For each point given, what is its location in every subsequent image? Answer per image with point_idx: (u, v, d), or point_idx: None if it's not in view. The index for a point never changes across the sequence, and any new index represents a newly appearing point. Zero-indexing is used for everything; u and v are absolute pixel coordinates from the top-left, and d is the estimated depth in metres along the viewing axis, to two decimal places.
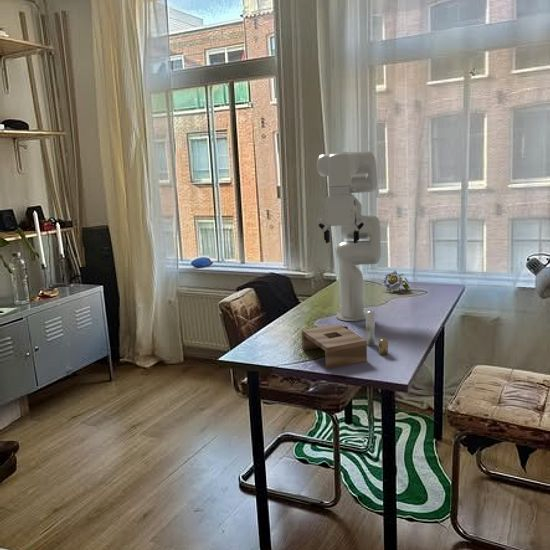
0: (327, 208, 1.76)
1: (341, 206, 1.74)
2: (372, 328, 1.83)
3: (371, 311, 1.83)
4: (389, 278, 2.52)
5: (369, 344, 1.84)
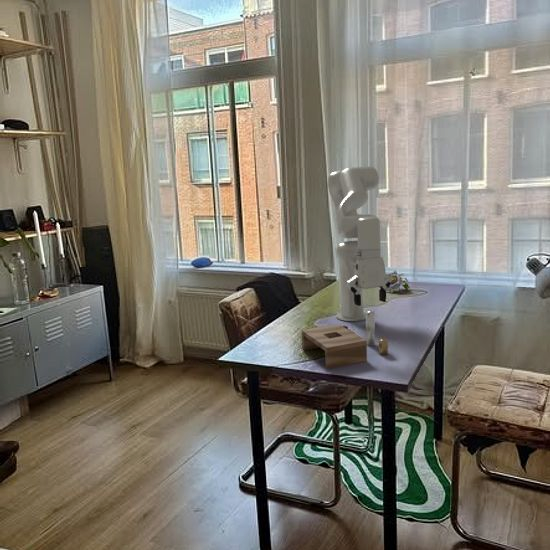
0: None
1: None
2: (372, 328, 1.83)
3: (371, 311, 1.83)
4: None
5: (369, 344, 1.84)
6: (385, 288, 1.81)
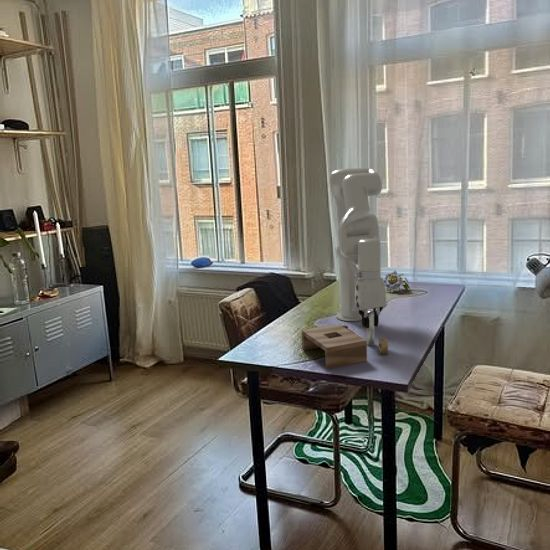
0: None
1: None
2: (372, 328, 1.83)
3: (371, 311, 1.83)
4: (389, 278, 2.52)
5: (369, 344, 1.84)
6: (378, 312, 1.83)
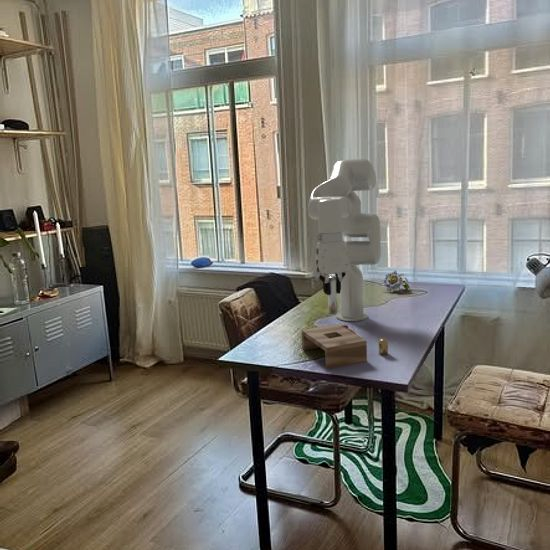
0: None
1: None
2: (334, 295, 1.72)
3: (333, 277, 1.72)
4: (389, 278, 2.52)
5: (331, 312, 1.73)
6: (340, 278, 1.72)
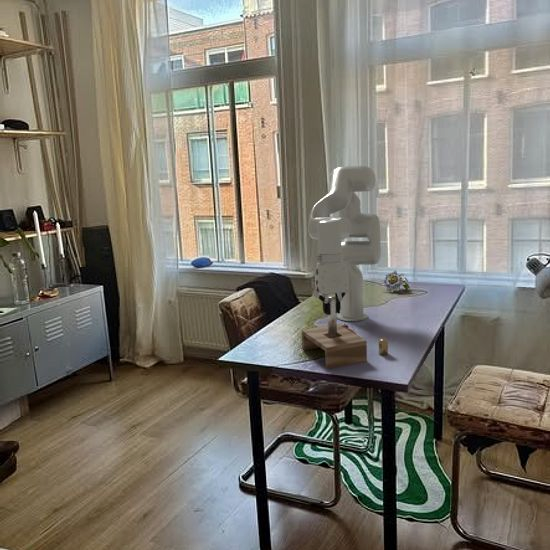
0: None
1: None
2: (334, 315, 1.73)
3: (333, 297, 1.73)
4: (389, 278, 2.52)
5: (331, 332, 1.74)
6: (339, 298, 1.73)
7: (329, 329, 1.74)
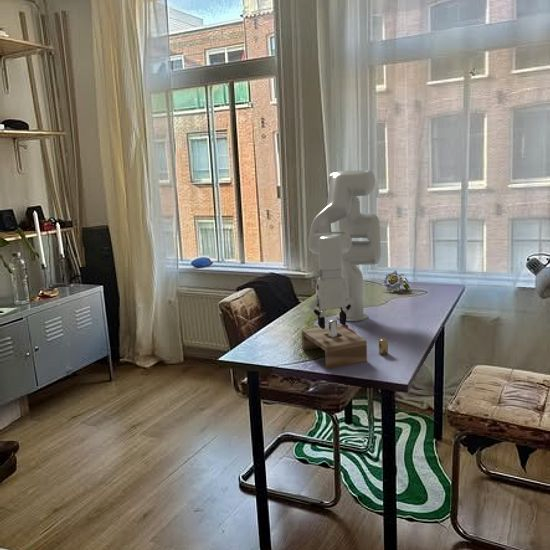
0: None
1: None
2: None
3: (333, 320, 1.75)
4: (389, 278, 2.52)
5: None
6: (345, 311, 1.74)
7: None
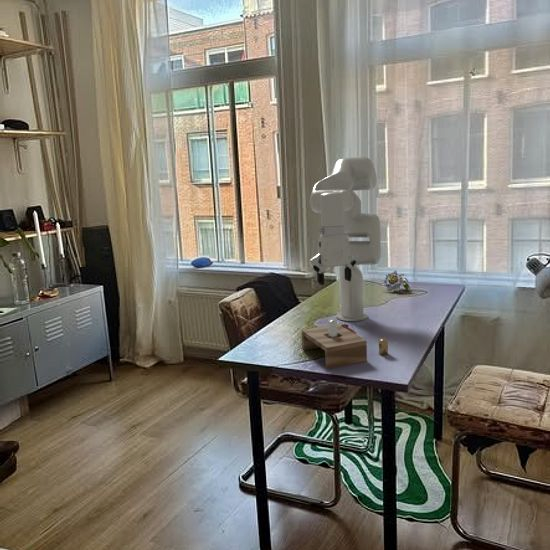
0: None
1: None
2: None
3: (333, 320, 1.75)
4: (389, 278, 2.52)
5: None
6: (350, 267, 1.74)
7: None
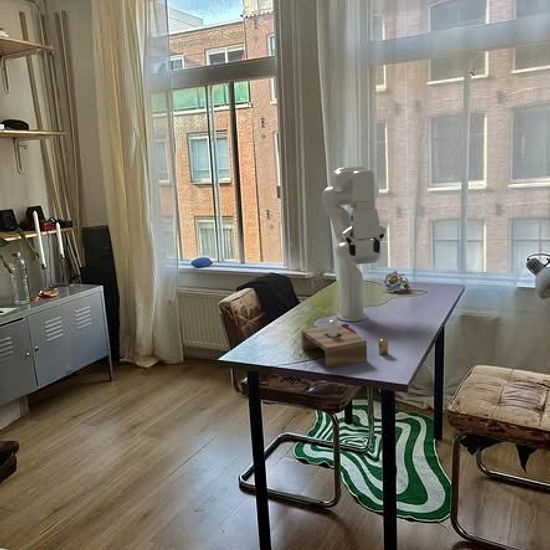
0: None
1: None
2: None
3: (333, 320, 1.75)
4: (390, 278, 2.52)
5: None
6: (379, 239, 1.89)
7: None
